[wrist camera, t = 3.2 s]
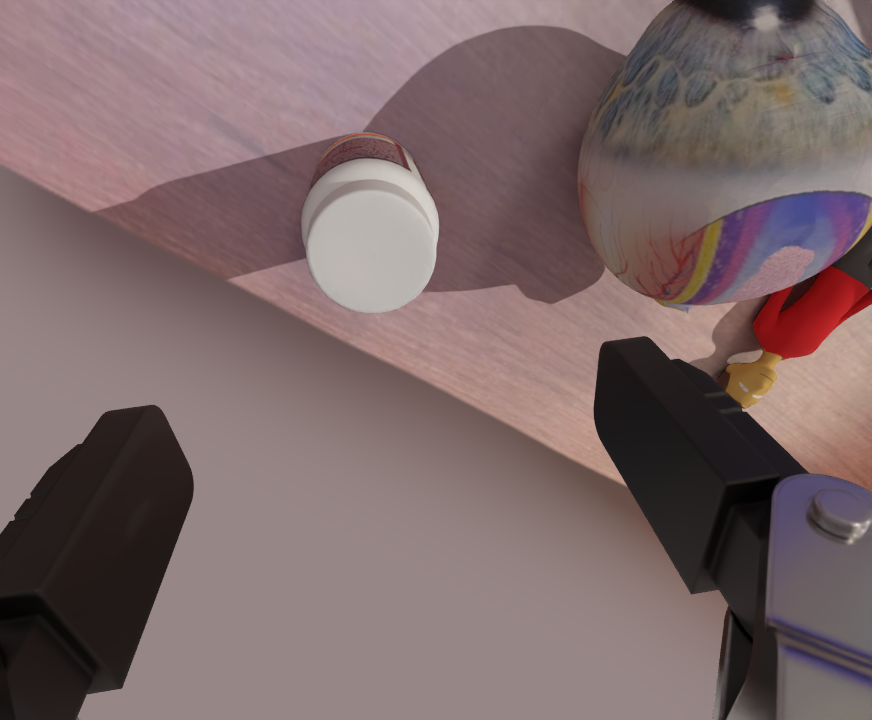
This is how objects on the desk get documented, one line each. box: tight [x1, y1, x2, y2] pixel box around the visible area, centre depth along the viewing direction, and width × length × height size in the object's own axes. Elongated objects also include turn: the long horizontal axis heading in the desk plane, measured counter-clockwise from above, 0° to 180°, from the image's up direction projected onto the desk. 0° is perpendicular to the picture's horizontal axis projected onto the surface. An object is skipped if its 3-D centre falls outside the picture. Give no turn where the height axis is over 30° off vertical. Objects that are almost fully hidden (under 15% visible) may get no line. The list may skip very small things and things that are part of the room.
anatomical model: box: [578, 0, 872, 313], centre depth 19 cm, size 10×12×10 cm
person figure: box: [717, 226, 872, 408], centre depth 26 cm, size 5×4×18 cm
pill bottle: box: [301, 132, 439, 313], centre depth 19 cm, size 5×5×8 cm
